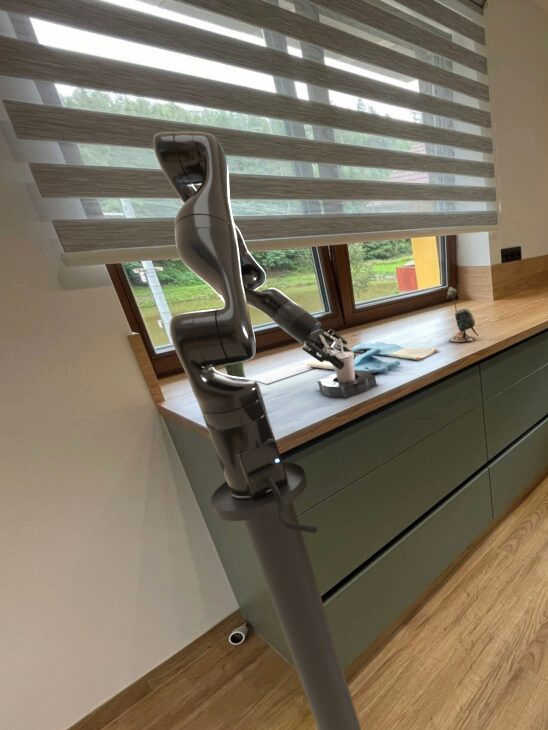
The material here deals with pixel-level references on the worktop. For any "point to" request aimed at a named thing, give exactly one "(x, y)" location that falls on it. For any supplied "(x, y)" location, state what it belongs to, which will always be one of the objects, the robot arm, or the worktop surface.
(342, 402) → the worktop surface
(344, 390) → the board
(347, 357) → the smoothie
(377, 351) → the rubber gloves
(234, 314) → the robot arm
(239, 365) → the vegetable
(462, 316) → the ostrich figurine
